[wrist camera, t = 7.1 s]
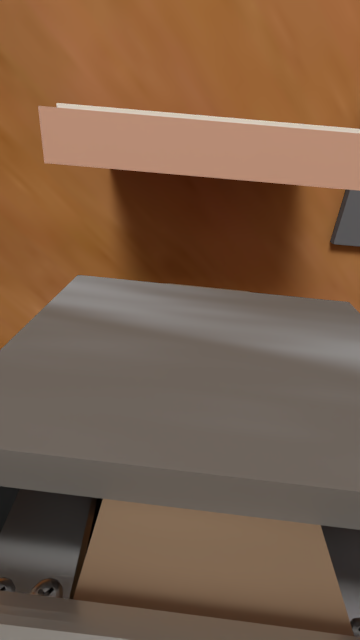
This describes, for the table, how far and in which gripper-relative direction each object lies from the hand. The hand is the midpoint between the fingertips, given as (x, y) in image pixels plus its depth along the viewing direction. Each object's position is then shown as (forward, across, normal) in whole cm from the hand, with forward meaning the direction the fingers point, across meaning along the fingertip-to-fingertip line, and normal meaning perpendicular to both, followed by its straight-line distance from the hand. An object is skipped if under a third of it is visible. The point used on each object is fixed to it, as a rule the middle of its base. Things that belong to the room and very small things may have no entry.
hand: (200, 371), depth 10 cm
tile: (+11, +1, -6) cm, 12 cm away
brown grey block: (+2, 0, 0) cm, 2 cm away
